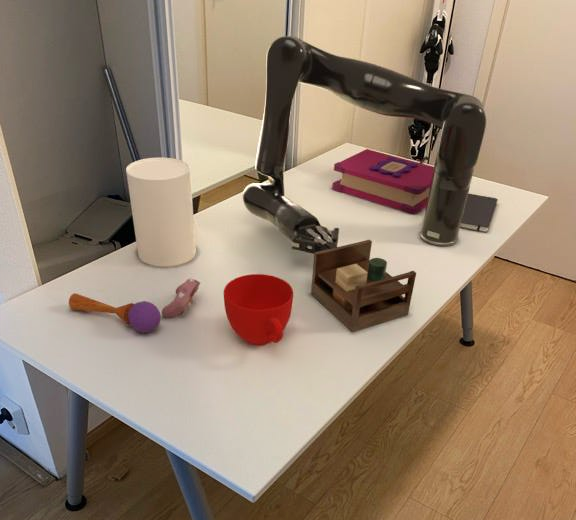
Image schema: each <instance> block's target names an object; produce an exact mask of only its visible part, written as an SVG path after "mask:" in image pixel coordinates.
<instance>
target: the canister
mask: <svg viewBox="0 0 576 520" xmlns="http://www.w3.org/2000/svg"><path fill="white" fill-rule="evenodd" d="M125 173H126V179H127V180H126V181H127V187H128V194H129V199H130V201H129V202H130V206H131V207H130V208H131V214H132V221H133V229H134V235H135V242H136V250H137V256H138V258H139V260H140V261H141V262H143V263H145V264H147V265H150V266H155V267H176V266H180V265H183V264H185V263H188V262H190V261H191V260H192V259H194V257H195V256H196V253H197V249H196V248H197V247H196V246H197V245H196V234H195V220H194V206H193V194H192V193H193V192H192V179H191V166H190V165H189V163H187V161H184V160H181V159H177V158H172V157H147V158H142V159H138V160H135V161H132V162H131V163H129V164H128V165H127V166H126V168H125Z"/></svg>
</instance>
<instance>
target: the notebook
mask: <svg viewBox="0 0 576 520" xmlns="http://www.w3.org/2000/svg"><path fill="white" fill-rule="evenodd" d="M498 201H499V200H498V198H496V197H491V196H487V195H481V194H480V195H479V194H475V193H469V192H468V197H467V201H466V205H465V209H464V213H463V217H462V221H461V226H460V229H465V230H469V231H475V232H479V233H488V232H489V228H490V226H491V222H492V220H493V217H494V213H495V210H496V207H497V204H498Z"/></svg>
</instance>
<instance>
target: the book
mask: <svg viewBox="0 0 576 520" xmlns="http://www.w3.org/2000/svg"><path fill="white" fill-rule="evenodd" d="M433 170H434V166H433V165H428V164H425V163H422V164H421V163H420V162H417V161H414V160H409V159H406V158H403V157H399V156H395V155H391V154H387V153H384V152H380V151H375V150H372V149H369V148H366V149H364V150H362V151H360V152H358V153H356V154H353V155H351V156H349V157H347V158H345V159H343V160H341V161H338V162H336V163H334V165H333V171H334V172H338V173H341V174H342V177H341V178H340V179H339V180H335V181H333V182H332V184H331V185H332V186H331V189H332V191H334V192H335V191H336V192H338V193H345V194H348V195H351V196H353V197H357V198H361V199H364V200H367V201H370V202H374V203H377V204H380V205H382V206H386V207H388V208H393V209H396V210H398V211H400V212H403V213H407V214H410V215H417V214H419V213H420V212H421V211H423V209H426V206H427V201H428V196H429V191H430V186H431V180H432V175H433Z"/></svg>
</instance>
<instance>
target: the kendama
mask: <svg viewBox="0 0 576 520" xmlns="http://www.w3.org/2000/svg"><path fill="white" fill-rule="evenodd" d="M68 306H69V309H71V310H75V311H83V312H85V311H86V312H95V313H96V312H97V313H105V314H106V313H107V314H115V315H116V316H117V317H118V318H119V319H120V320H122V321H123V323H125V324H126V325H129V326H130V327H132V328H133V329H134V330H135V331H137V332H140V333H143V334H146V333H149V332H153V331H154V330H155V329H156V328H157V327H159V324H160V323H161V316H162V315H161V313H160V310H159V309H158V307H157V306H156V305H155V304H154V303H152V302H150V301H146V300H142V301H138V302H135V303H133V302H130V303H126V304H124V305H120V306H117V307H115V306H113V305H110V304H106V303H104V302H101V301H99V300H95V299H93V298H90V297H87V296H84V295H81V294H79V293H72V294H71V295H70V296H69V298H68Z"/></svg>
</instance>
